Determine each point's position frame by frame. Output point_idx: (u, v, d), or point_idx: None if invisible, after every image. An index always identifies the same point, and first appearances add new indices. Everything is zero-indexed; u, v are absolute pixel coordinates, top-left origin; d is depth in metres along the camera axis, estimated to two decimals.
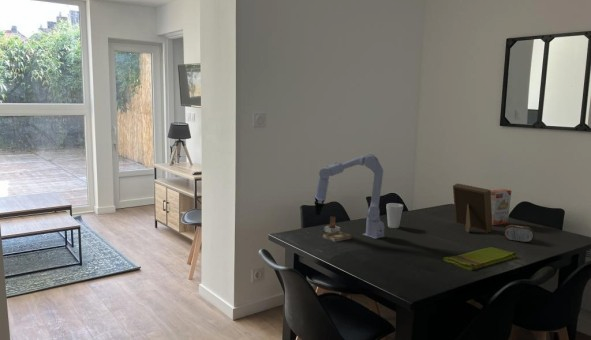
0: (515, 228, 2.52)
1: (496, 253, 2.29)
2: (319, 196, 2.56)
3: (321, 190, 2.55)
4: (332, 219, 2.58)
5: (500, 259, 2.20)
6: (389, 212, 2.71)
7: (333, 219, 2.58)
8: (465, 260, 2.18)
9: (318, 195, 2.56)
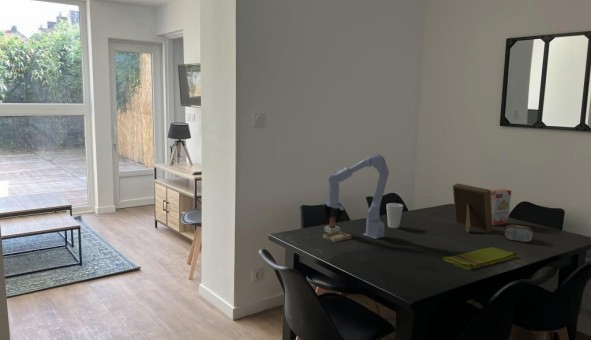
0: (515, 228, 2.52)
1: (496, 253, 2.29)
2: (335, 203, 2.56)
3: (336, 197, 2.55)
4: (332, 219, 2.58)
5: (500, 259, 2.20)
6: (389, 212, 2.71)
7: (333, 219, 2.58)
8: (464, 260, 2.19)
9: (334, 203, 2.55)
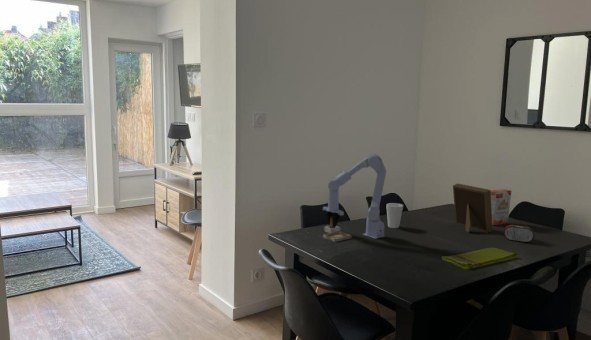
0: (515, 228, 2.52)
1: (497, 253, 2.29)
2: (335, 209, 2.56)
3: (336, 202, 2.56)
4: (332, 219, 2.58)
5: (499, 259, 2.19)
6: (389, 212, 2.71)
7: None
8: (463, 259, 2.19)
9: (334, 208, 2.56)
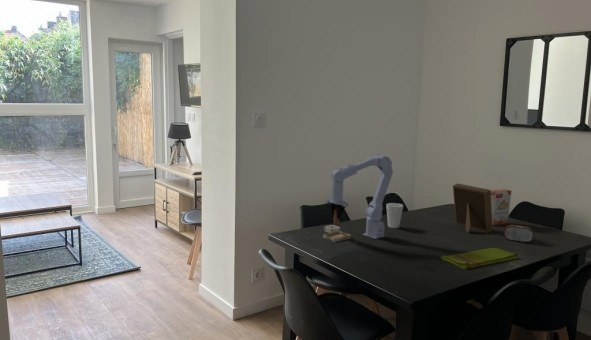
0: (515, 228, 2.52)
1: (497, 253, 2.28)
2: (339, 200, 2.47)
3: (340, 194, 2.46)
4: (336, 211, 2.49)
5: (499, 259, 2.19)
6: (389, 212, 2.71)
7: None
8: (462, 259, 2.20)
9: (338, 200, 2.46)
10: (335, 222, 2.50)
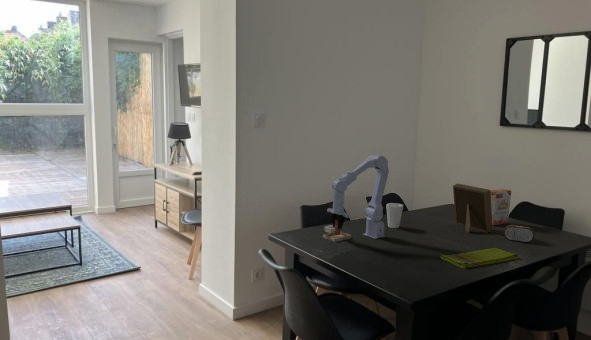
0: (515, 228, 2.52)
1: (497, 254, 2.28)
2: (341, 210, 2.44)
3: (342, 204, 2.44)
4: (337, 221, 2.46)
5: (499, 259, 2.19)
6: (389, 212, 2.71)
7: None
8: (462, 259, 2.20)
9: (339, 210, 2.44)
10: (336, 232, 2.47)
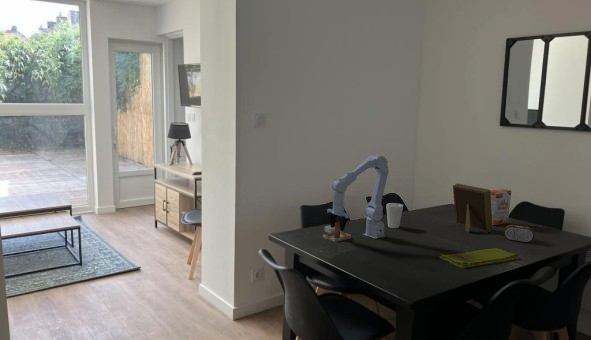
0: (515, 228, 2.52)
1: (498, 254, 2.28)
2: (340, 211, 2.44)
3: (342, 204, 2.44)
4: (337, 225, 2.47)
5: (498, 259, 2.19)
6: (389, 212, 2.71)
7: (338, 225, 2.47)
8: (461, 258, 2.20)
9: (339, 210, 2.44)
10: (336, 236, 2.48)
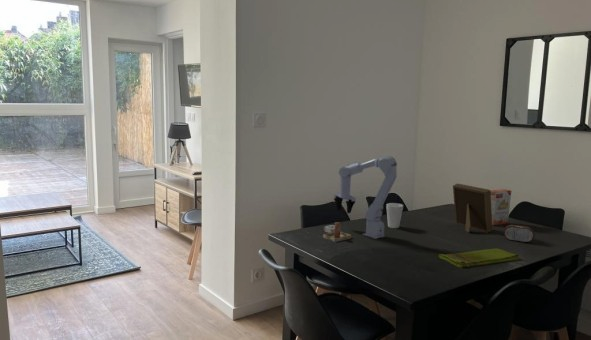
0: (515, 228, 2.52)
1: (498, 254, 2.28)
2: (347, 195, 2.61)
3: (348, 189, 2.61)
4: (337, 225, 2.47)
5: (498, 260, 2.19)
6: (389, 212, 2.71)
7: (338, 225, 2.47)
8: (460, 258, 2.21)
9: (346, 194, 2.61)
10: (336, 236, 2.48)
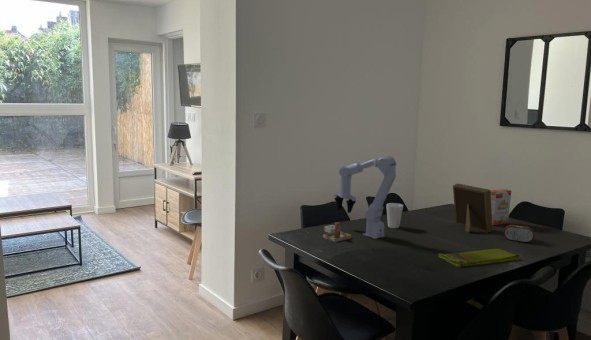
0: (515, 228, 2.52)
1: (499, 254, 2.27)
2: (347, 194, 2.62)
3: (348, 188, 2.62)
4: (337, 225, 2.47)
5: (497, 260, 2.19)
6: (389, 212, 2.71)
7: (338, 225, 2.47)
8: (459, 258, 2.21)
9: (346, 194, 2.62)
10: (336, 236, 2.48)
